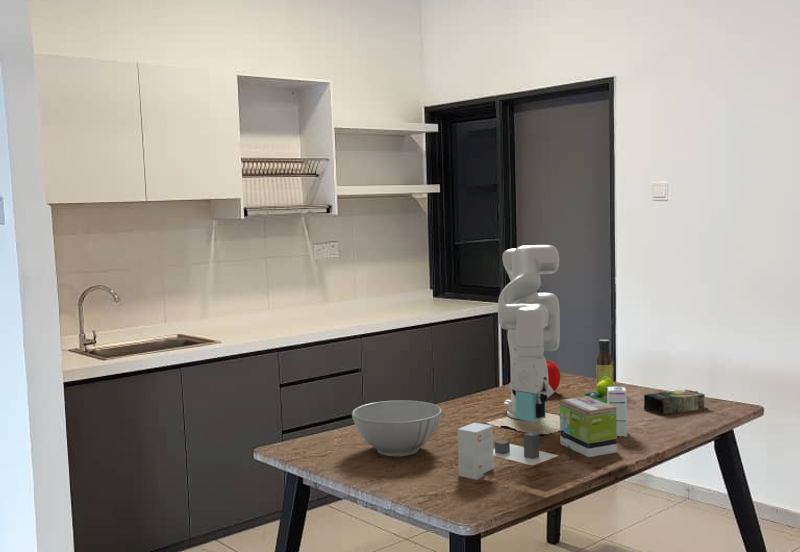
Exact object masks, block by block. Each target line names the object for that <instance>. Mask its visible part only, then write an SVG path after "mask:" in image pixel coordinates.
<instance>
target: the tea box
mask: <svg viewBox="0 0 800 552" xmlns="http://www.w3.org/2000/svg"><path fill="white" fill-rule="evenodd" d="M559 435H560V436H559V437H560V438H559V439H560V440H559V442H560V445H562V446H564V447H566V448H568V449H570V450H573V451H575V452H577V453H579V454H581V455H584V456H585V457H587V458H590V457H591V458H592V457H598V456H602V455H604V456H605V455H609V454H614V453H617V449H618V448H617V442H618V441H617V431H616V407H615V406H612V405H609V404H606V403H604V402H601V401H598V400H596V399H593V398H590V397H588V396H584V397H583V396H578V397H572V398H567V399H559Z"/></svg>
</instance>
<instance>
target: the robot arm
mask: <svg viewBox="0 0 800 552" xmlns="http://www.w3.org/2000/svg"><path fill="white" fill-rule="evenodd" d="M501 258H502V263H503V267H504V269H505V271H506V273H507V275H508V278H509V280H510V282H509V283H507V284H506V285H505V286H504V288H503V289H502V291H501V292H500V293H499V296H498V302H497V313H498V315H497V319H498V323H499V326H500V327H501V328H502V329H503V330H507V343H508V349H509V360H510V362H509V363H510V382H509V383H508V384H507V386H508V388H509V390H510V396H511V397H510V399H506V400H505V401H504V402H503V406H504V407H508V410H507V411H506V416H507V417H509V418H512V419H515V420H516V419H517V418H516V391H521V392H526V393H532V394H536V399H537V404H536V418H540V417H543V416H545V410H546V403H547V402H548V400H549V399H550V397H552V395H554V393H555V391H553V389H552V388H551V386H550V385H549V382H548V369H547V363H546V360H547V358H546V356H544V352H554V351H556V350H558V349H559V347H560V342H561V340H560V339H561V332H560V331H561V330H560V329H561V325H560V324H561V321H560V319H561V318H560V317H561V312H560V311H561V310H560V301H559V299H558V296H557V295H556V294H555V293H552V292H538V290H539V289H540V287H541V285H542V279H541V275H552V274H555V273H556V272H557V271H558V270H559V267H560V255H559V251H558V249H557V248H556V247H555V245H550V244H535V245H534V244H533V245H532V244H531V245H530V244H529V245H521V246H518V247H516V248H509V249H506V250H504V252H503V253H502V257H501ZM544 392H546V394H545V393H544ZM540 394H541V397H540ZM517 420H518V419H517Z"/></svg>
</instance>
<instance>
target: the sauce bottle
mask: <svg viewBox="0 0 800 552" xmlns="http://www.w3.org/2000/svg"><path fill="white" fill-rule="evenodd" d="M610 344H611V340H609V339H599V340H598V345H599V347H598V348H599V350H598V351H599V353H598V354H597V355H596V361H595V362H596V365H595V367H596V368H595V369H596V385H597V384H598V383H599V382H600V381H601V380H602V378H603V377H604V376H607V377H610V379H611V380H612V387H615V384H614V379H615V378H614V359H613V356H612V354H611V353H610ZM597 391H598V389H596V392H597Z"/></svg>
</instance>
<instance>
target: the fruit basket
mask: <svg viewBox="0 0 800 552" xmlns="http://www.w3.org/2000/svg"><path fill="white" fill-rule="evenodd" d="M607 387H612V380H611V379H610V377H607V376H604V377H603V378H602V380H601V381H600V382H599V383H598V384H597V383H596V388H597V389H598V391H597V389H596V390H592V391H591V392H588V393H584V394H582V397H584V396H588V397H590V398H593V399H596V400H598V401H601V402H604V403H606V404H607Z"/></svg>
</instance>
